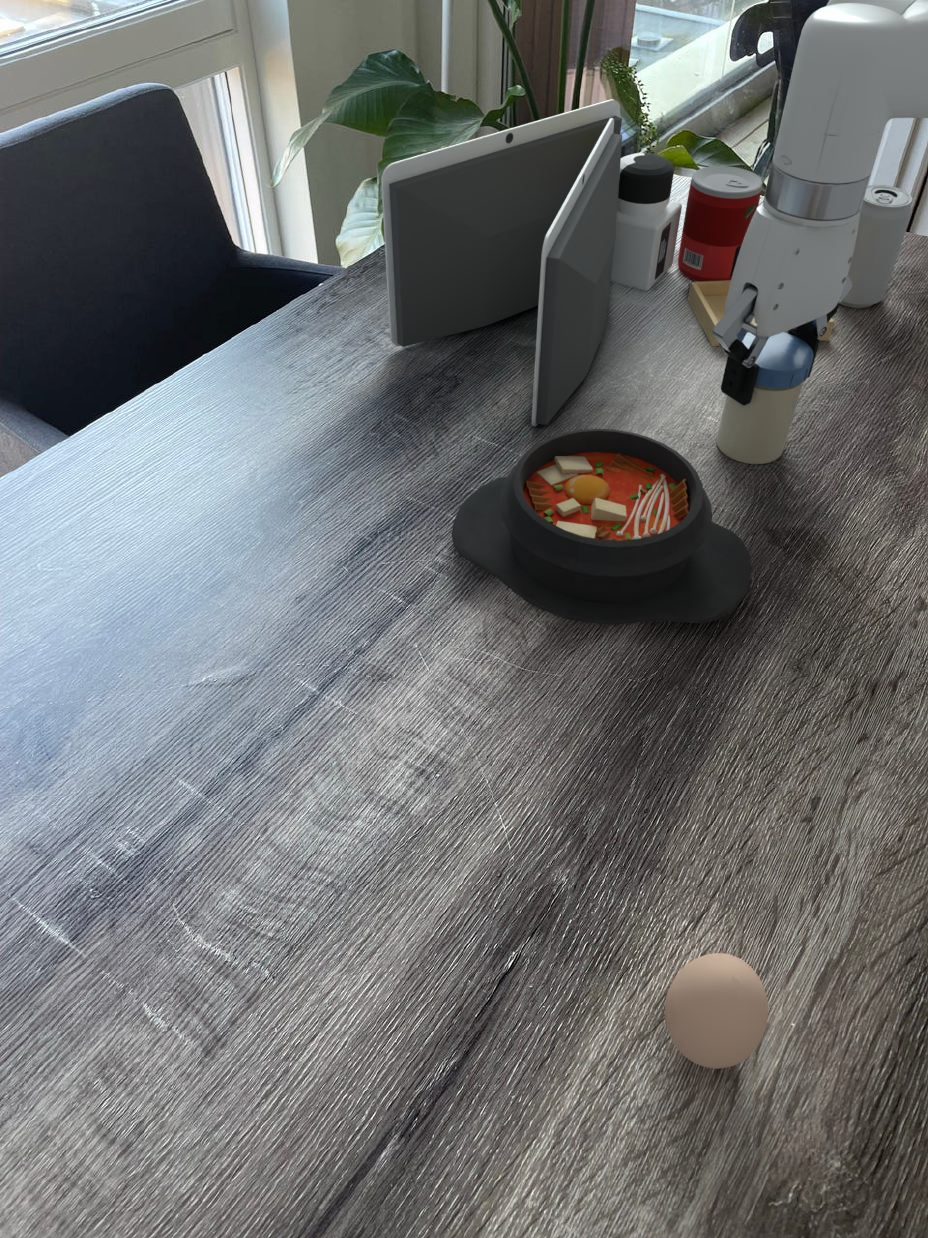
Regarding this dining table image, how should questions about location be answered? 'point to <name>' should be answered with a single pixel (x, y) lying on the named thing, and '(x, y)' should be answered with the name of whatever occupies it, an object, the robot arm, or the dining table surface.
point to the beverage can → (877, 243)
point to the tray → (718, 306)
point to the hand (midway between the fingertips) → (765, 383)
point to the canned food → (717, 221)
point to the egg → (716, 1010)
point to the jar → (757, 424)
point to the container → (644, 221)
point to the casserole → (605, 533)
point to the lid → (782, 361)
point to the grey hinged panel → (510, 240)
